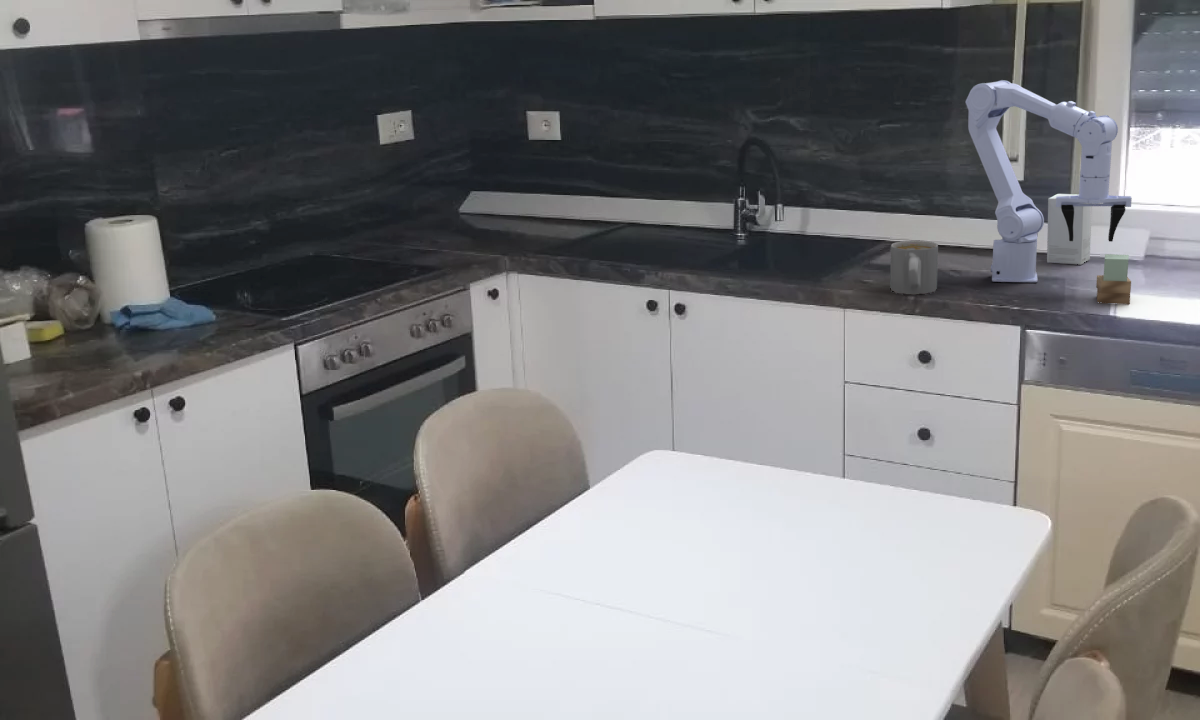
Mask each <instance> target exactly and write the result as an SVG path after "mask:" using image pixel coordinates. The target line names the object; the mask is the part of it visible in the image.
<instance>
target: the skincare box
mask: <svg viewBox="0 0 1200 720" xmlns="http://www.w3.org/2000/svg"><path fill="white" fill-rule="evenodd" d="M1059 196H1079V193H1078V194H1075V193H1073V194H1071V193H1057V194H1055V195H1053V196H1051V197H1048V199H1047V201H1048V202H1047V240H1046V241H1047V247H1046V248H1047V249H1046V251H1047V252H1046V262H1047V263H1049V264H1050V263H1053V264H1067V265H1077V264H1078V265H1079V266H1080V265H1083V264H1085V263H1086V261H1087V262H1088V261H1090V260H1091V238H1092V236H1091V235H1092V207H1093V206H1074V221H1073V241H1069V231H1068V226H1067V223H1066V220H1065V218H1064V215H1063V213H1062V210H1061V207H1056V197H1059ZM1083 204H1093V203H1083ZM1084 262H1085V263H1084Z"/></svg>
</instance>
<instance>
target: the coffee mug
mask: <svg viewBox="0 0 1200 720" xmlns="http://www.w3.org/2000/svg"><path fill="white" fill-rule="evenodd" d="M938 256H939V245H938V243H936V242H932V241H927V240H903V241H897V242H893V243H892V244H890V272H889V273H890V274H889V278H890V279H889V280H890V281H889V282H890V284H889V286H890V287H889V289H890V288H891V289H892V290H893V291H896V292H898V293H906V294H919V293H928V292H932V291H935V290H936V289H937V290H938V263H939V262H938Z"/></svg>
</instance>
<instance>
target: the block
mask: <svg viewBox="0 0 1200 720" xmlns="http://www.w3.org/2000/svg"><path fill="white" fill-rule="evenodd" d="M1129 257H1130V256H1129V254H1111V253H1110V254H1107V253H1105V254H1104V262H1103V263H1104V265H1103V275H1104V278H1103V281H1127V277H1128V273H1129V259H1130V258H1129Z"/></svg>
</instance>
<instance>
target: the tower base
mask: <svg viewBox="0 0 1200 720" xmlns="http://www.w3.org/2000/svg"><path fill="white" fill-rule="evenodd" d="M1096 302H1099V303H1098V304H1108V303H1117V305H1130V303H1131V293H1130V294H1101V293H1100V292H1099V290H1098V289H1097V288H1096ZM1100 302H1102V303H1100Z"/></svg>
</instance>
